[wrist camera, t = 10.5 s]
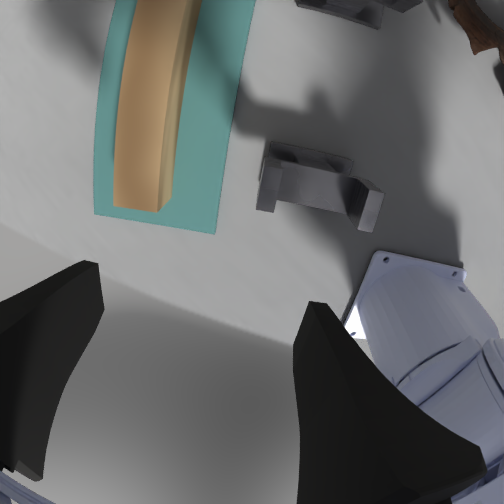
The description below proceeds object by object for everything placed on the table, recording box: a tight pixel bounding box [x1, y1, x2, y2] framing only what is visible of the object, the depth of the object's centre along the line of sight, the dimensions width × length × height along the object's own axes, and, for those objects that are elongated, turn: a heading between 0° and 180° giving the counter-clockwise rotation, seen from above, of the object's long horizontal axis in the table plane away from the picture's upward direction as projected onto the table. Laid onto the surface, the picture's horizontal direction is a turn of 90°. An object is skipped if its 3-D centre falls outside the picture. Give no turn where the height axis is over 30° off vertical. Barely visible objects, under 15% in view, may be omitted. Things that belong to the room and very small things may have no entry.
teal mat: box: [94, 0, 256, 234], centre depth 14 cm, size 9×22×1 cm, turn 170°
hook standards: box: [256, 0, 423, 233], centre depth 12 cm, size 6×15×6 cm, turn 170°
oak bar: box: [113, 0, 202, 213], centre depth 13 cm, size 3×18×3 cm, turn 170°
